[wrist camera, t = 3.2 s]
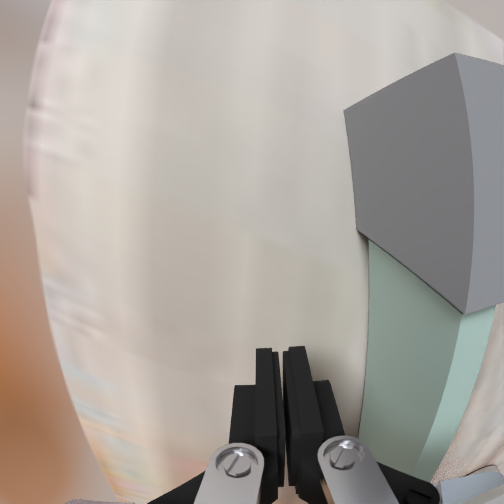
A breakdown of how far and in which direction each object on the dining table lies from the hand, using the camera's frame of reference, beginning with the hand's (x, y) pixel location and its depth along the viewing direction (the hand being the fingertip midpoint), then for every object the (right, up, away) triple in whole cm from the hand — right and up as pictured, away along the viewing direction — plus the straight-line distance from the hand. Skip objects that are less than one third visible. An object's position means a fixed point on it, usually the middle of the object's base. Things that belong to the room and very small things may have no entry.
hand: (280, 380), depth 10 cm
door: (+6, -2, +4) cm, 7 cm away
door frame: (+6, -2, +5) cm, 7 cm away
